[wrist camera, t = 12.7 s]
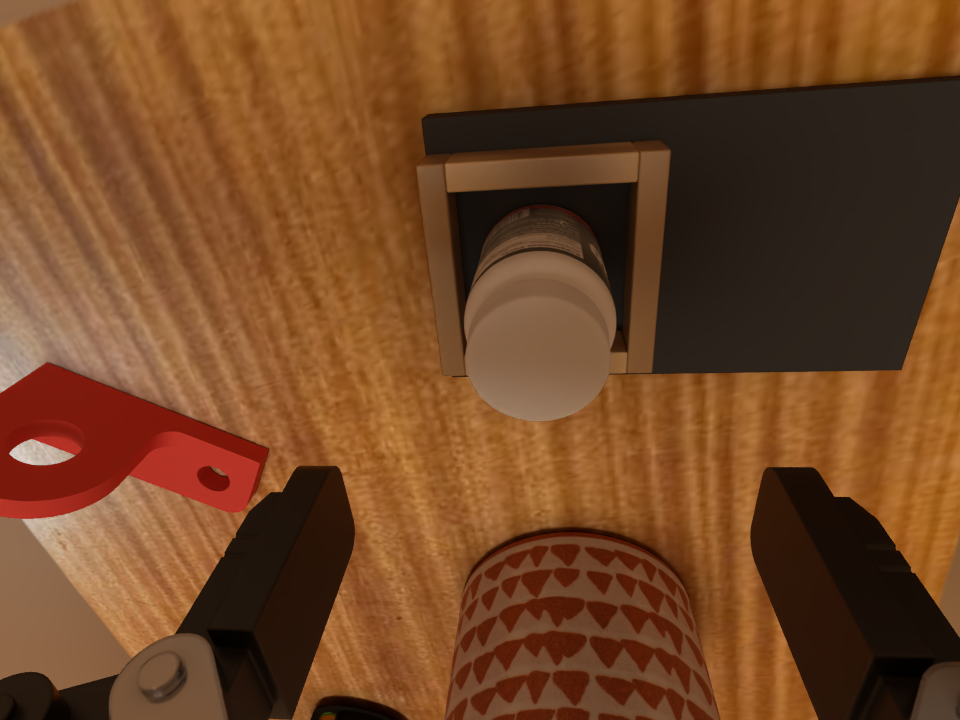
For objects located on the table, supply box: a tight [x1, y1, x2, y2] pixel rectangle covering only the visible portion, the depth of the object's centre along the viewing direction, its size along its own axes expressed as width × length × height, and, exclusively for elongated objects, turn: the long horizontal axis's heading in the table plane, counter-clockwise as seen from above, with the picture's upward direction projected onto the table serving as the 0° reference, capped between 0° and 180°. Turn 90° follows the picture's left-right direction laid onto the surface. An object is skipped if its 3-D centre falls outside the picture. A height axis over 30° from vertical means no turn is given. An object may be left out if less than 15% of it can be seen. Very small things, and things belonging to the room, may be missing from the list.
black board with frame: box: [416, 76, 960, 377], centre depth 22 cm, size 19×11×3 cm, turn 94°
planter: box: [444, 532, 720, 720], centre depth 29 cm, size 14×14×13 cm
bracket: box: [0, 363, 269, 519], centre depth 28 cm, size 12×4×8 cm, turn 66°
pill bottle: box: [464, 204, 616, 421], centre depth 19 cm, size 5×5×8 cm
